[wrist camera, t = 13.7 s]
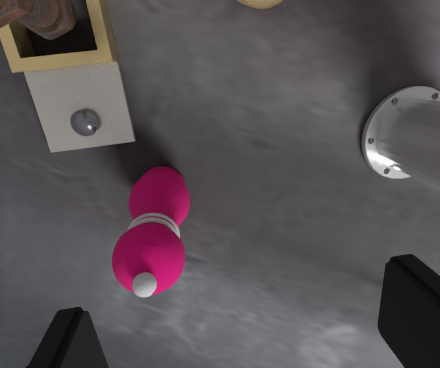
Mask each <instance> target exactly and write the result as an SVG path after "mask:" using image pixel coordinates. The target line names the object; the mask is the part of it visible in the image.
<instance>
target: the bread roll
mask: <svg viewBox="0 0 440 368" xmlns="http://www.w3.org/2000/svg"><path fill="white" fill-rule="evenodd" d="M237 1H238V2H240V3H242V4H244V5H246V6H249V7H252V8H256V9H266V8H270V7H273V6H275V5H277V4H279V3H281V2H282V1H283V0H237Z"/></svg>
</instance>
